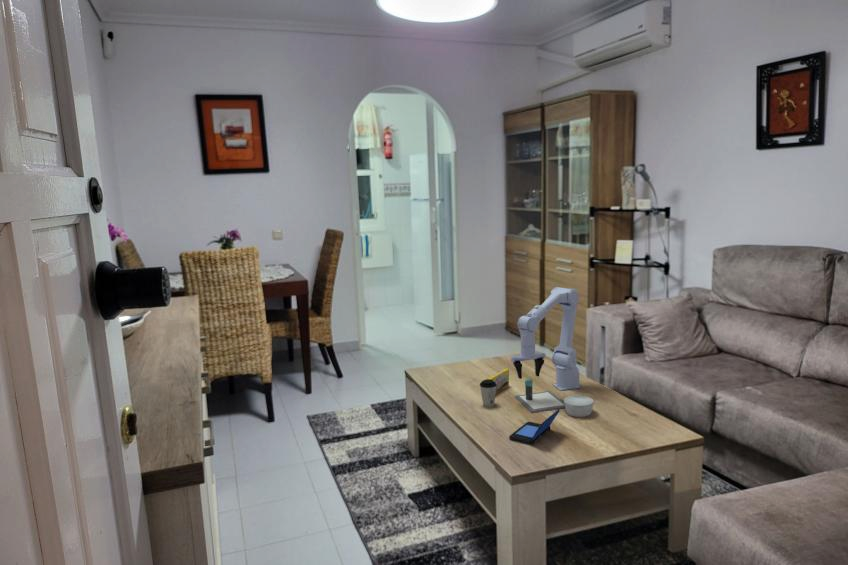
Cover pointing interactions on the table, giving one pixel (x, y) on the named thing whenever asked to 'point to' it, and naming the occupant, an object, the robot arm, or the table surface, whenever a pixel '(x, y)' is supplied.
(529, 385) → the marker
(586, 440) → the table surface
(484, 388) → the coffee cup
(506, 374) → the candy box
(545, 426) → the handheld game console
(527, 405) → the sketch board
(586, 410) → the ramekin
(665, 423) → the table surface
